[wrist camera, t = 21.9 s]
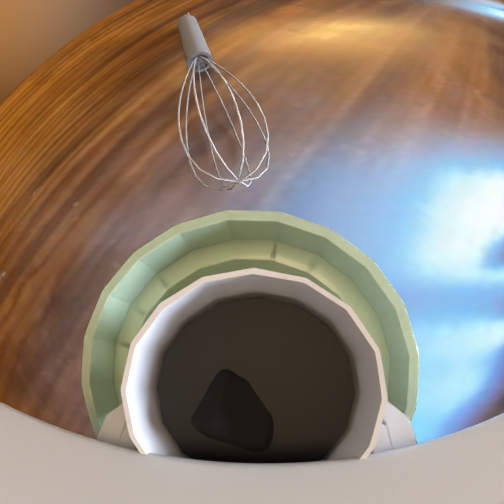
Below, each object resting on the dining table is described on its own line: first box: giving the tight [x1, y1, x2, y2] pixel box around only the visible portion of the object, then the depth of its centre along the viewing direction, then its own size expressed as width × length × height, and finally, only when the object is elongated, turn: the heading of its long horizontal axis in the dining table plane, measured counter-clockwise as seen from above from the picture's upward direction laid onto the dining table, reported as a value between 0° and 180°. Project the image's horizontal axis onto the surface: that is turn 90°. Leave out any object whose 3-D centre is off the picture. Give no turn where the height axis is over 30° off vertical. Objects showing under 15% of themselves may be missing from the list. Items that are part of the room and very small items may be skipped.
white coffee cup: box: [121, 268, 388, 463], centre depth 11 cm, size 7×7×10 cm
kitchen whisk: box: [178, 12, 270, 190], centre depth 25 cm, size 6×34×6 cm, turn 16°
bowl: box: [81, 210, 419, 437], centre depth 15 cm, size 17×17×6 cm
